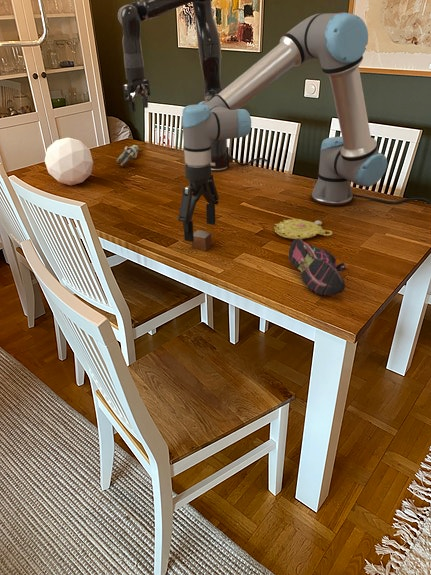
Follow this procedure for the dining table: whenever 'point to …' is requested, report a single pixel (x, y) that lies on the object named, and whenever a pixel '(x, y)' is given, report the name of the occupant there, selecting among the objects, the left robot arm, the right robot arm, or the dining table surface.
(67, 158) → the sphere
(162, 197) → the dining table surface
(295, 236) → the decorative object
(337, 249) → the dining table surface
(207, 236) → the block
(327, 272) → the athletic shoe
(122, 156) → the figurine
